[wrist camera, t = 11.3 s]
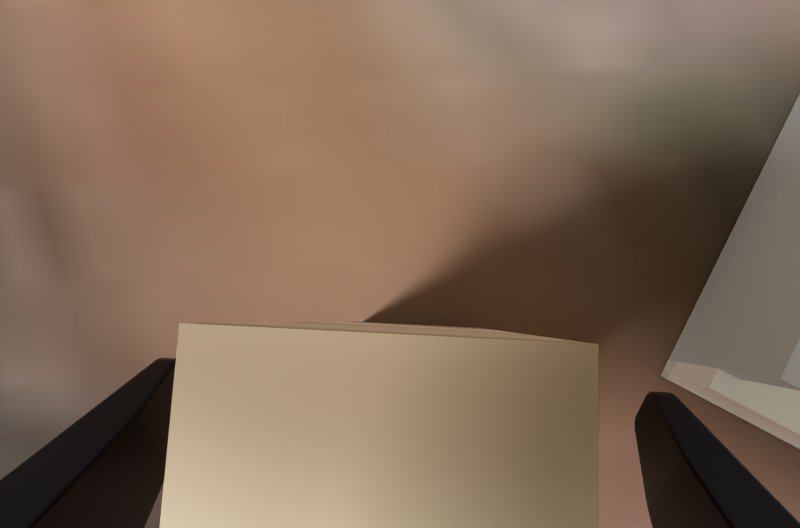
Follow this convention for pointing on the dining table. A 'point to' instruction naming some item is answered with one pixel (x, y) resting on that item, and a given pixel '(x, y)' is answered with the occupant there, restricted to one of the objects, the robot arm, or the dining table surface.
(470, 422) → the birch block
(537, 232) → the dining table surface
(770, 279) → the white open box
